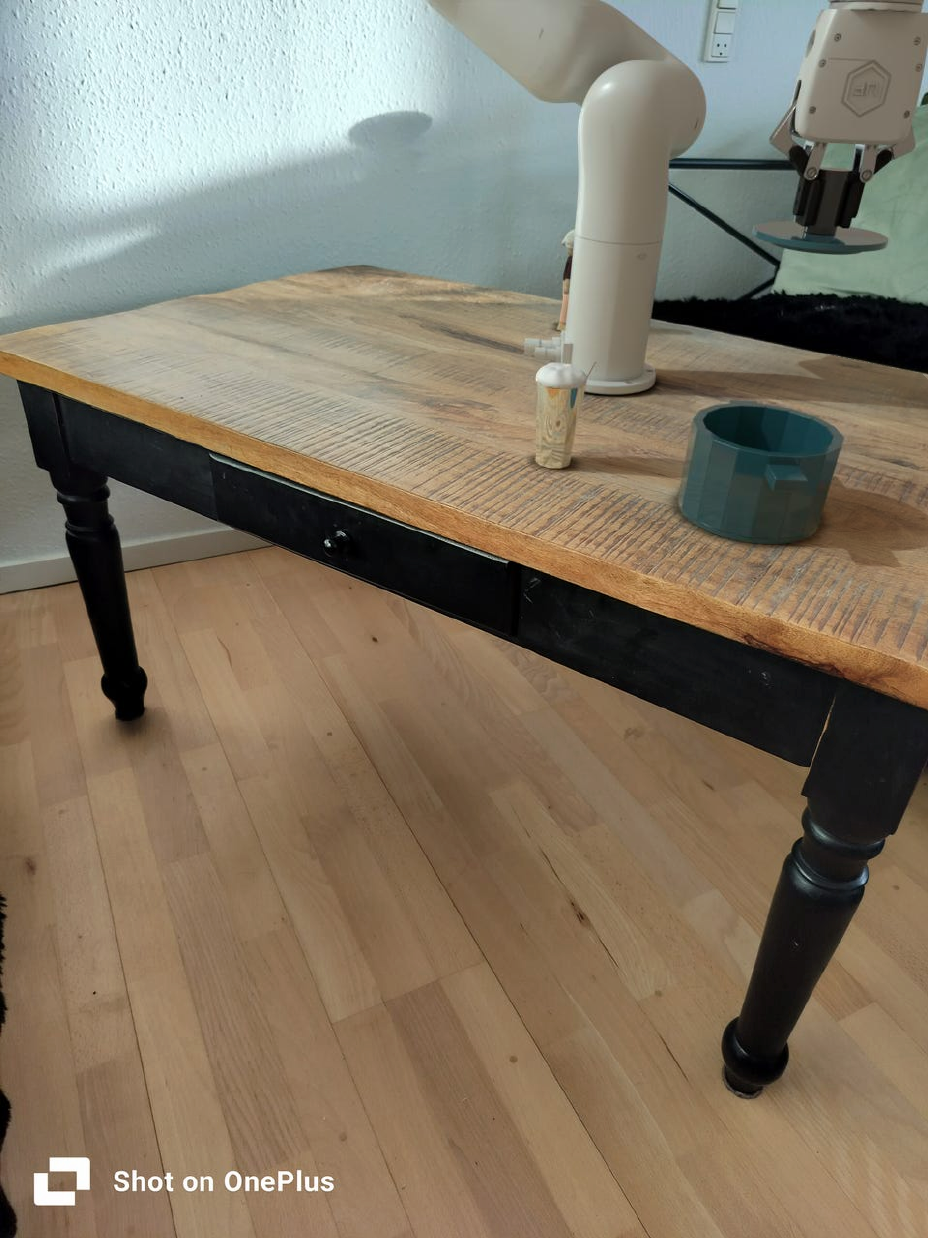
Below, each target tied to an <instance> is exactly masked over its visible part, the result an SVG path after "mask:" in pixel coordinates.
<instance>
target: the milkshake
mask: <svg viewBox="0 0 928 1238" xmlns="http://www.w3.org/2000/svg"><path fill="white" fill-rule="evenodd" d="M595 364H596V362H595V363H594V364H593V366H592V368H591V370H590V371H589V373H588V375H587V376H586V374H585V373H584V372H583V371H582V370H581V369H580V368H578V367H576V366H574V365H573V364H563V363H550V362H549V363H546V364H545V365H543V366H542V367H540V368H539V369H538V370H537V372H536V374H535V462H536V464H538V465H539V466H540V467H543V468H547V469H555V470H556V469H559V470H560V469H564V468H567V467H570V464H571V460H572V455H573V450H574V446H575V445H574V444H575V438H576V433H577V428H578V423H579V418H580V413H581V409H582V405H583V401H584V397H585V393H586V392H585V387H586V382H587V378H588V376H589V375H590V373H591V371H592V369H593V368H594V366H595Z"/></svg>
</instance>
